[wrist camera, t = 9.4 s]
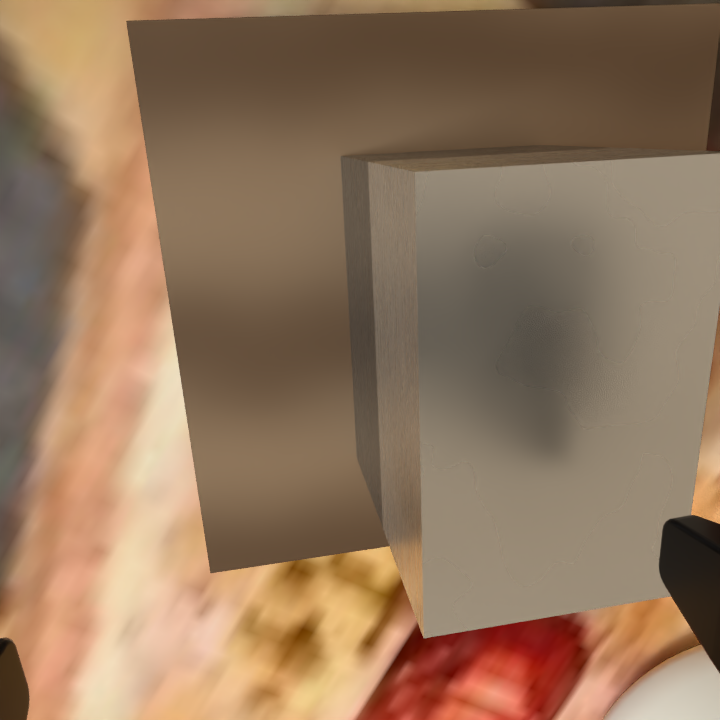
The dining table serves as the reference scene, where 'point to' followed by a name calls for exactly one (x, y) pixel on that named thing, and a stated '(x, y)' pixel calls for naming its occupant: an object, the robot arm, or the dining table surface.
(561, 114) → the stand
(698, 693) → the flower in vase
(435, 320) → the housing
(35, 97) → the dining table surface
